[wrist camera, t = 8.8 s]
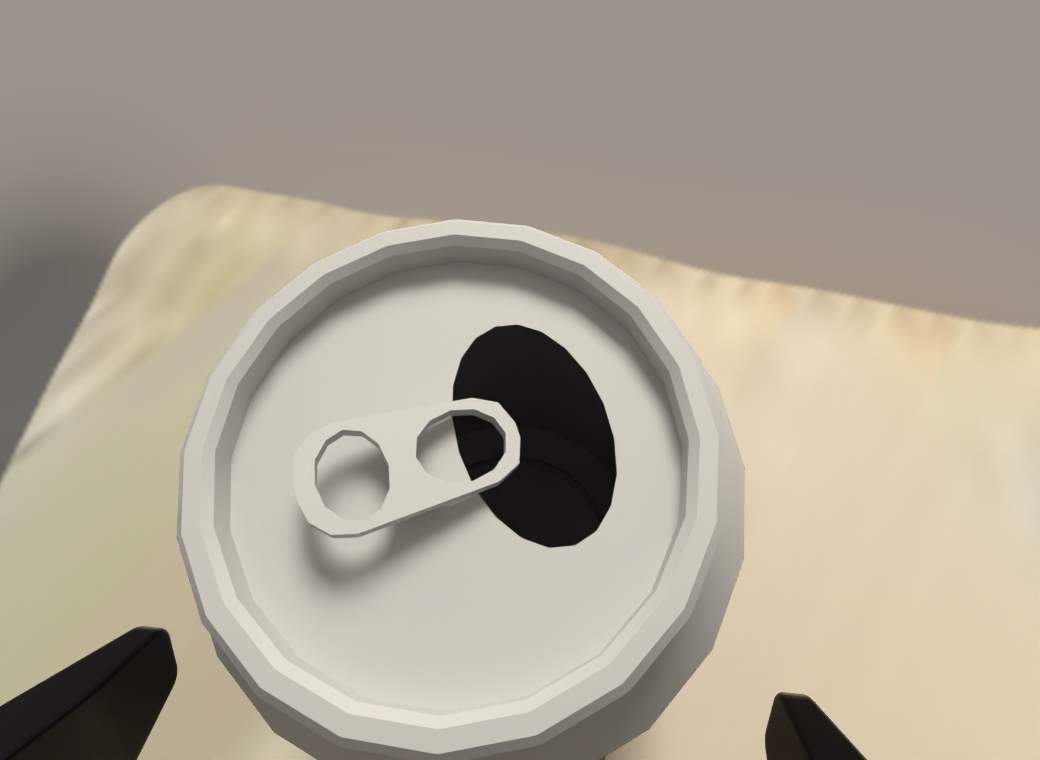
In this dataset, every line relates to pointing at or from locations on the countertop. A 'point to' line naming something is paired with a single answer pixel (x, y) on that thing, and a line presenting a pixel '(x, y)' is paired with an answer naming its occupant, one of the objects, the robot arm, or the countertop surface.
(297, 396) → the can
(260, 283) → the countertop surface
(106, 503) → the countertop surface
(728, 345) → the countertop surface
